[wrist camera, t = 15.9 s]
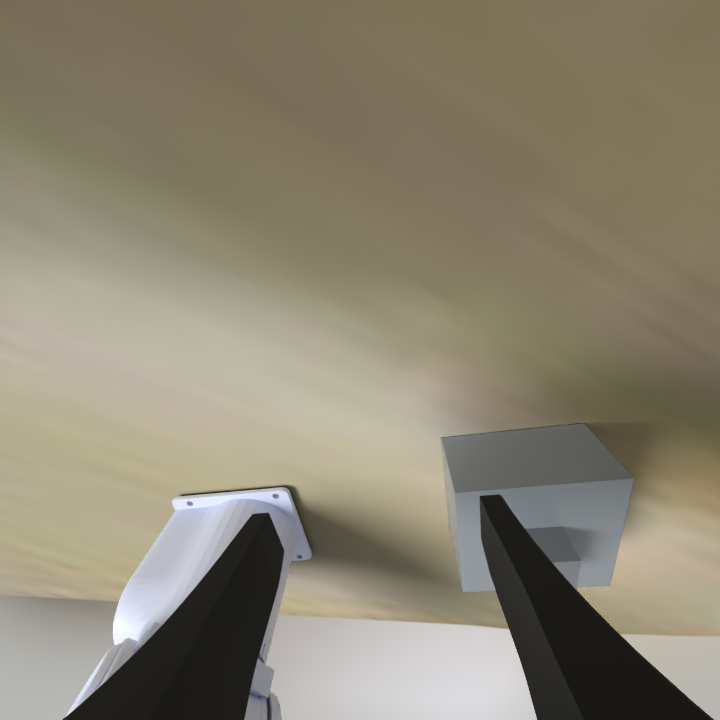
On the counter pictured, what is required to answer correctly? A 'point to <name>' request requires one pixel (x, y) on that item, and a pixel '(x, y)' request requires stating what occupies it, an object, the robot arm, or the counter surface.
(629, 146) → the counter surface
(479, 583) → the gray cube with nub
